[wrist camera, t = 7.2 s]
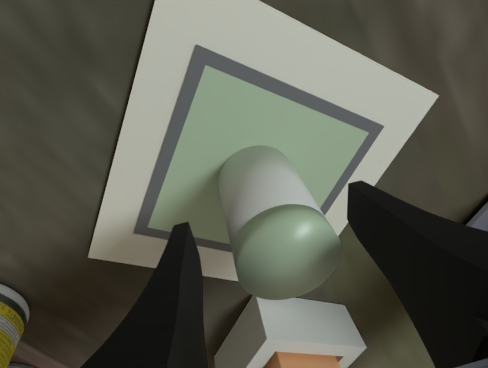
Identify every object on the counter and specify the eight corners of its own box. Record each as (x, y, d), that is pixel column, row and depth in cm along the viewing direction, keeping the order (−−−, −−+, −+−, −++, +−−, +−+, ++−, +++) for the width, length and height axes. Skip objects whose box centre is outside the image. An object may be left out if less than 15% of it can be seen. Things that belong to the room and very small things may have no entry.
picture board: (435, 94, 16) (440, 96, 16) (297, 288, 23) (299, 291, 22) (167, -48, 11) (167, -48, 11) (88, 254, 18) (87, 258, 17)
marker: (305, 158, 16) (362, 235, 11) (271, 217, 18) (308, 305, 13) (236, 134, 15) (266, 209, 10) (206, 200, 17) (219, 292, 12)
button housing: (344, 305, 25) (366, 347, 22) (296, 362, 28) (310, 405, 25) (254, 291, 22) (267, 338, 19) (214, 357, 25) (218, 405, 22)
